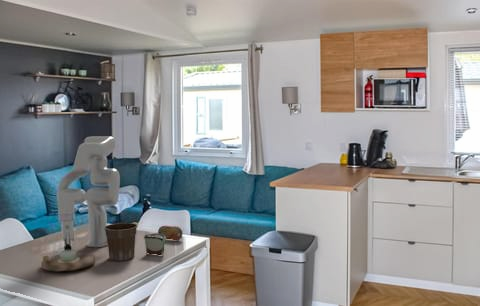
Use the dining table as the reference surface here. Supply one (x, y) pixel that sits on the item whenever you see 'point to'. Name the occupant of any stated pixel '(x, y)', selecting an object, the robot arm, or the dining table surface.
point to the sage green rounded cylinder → (68, 255)
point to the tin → (171, 232)
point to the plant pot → (121, 240)
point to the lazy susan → (57, 265)
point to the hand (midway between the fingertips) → (68, 254)
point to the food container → (155, 243)
